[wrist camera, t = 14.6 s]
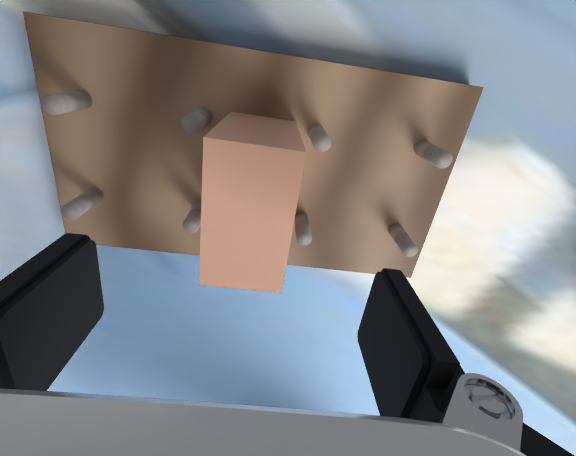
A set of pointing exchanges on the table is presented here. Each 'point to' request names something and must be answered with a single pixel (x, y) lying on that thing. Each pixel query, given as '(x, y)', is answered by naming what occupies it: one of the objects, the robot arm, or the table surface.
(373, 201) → the rack
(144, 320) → the table surface
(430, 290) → the table surface
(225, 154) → the salmon pink block
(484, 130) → the table surface
